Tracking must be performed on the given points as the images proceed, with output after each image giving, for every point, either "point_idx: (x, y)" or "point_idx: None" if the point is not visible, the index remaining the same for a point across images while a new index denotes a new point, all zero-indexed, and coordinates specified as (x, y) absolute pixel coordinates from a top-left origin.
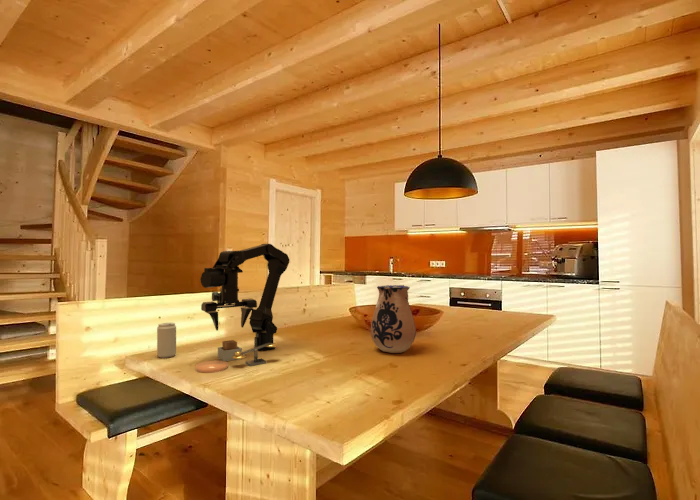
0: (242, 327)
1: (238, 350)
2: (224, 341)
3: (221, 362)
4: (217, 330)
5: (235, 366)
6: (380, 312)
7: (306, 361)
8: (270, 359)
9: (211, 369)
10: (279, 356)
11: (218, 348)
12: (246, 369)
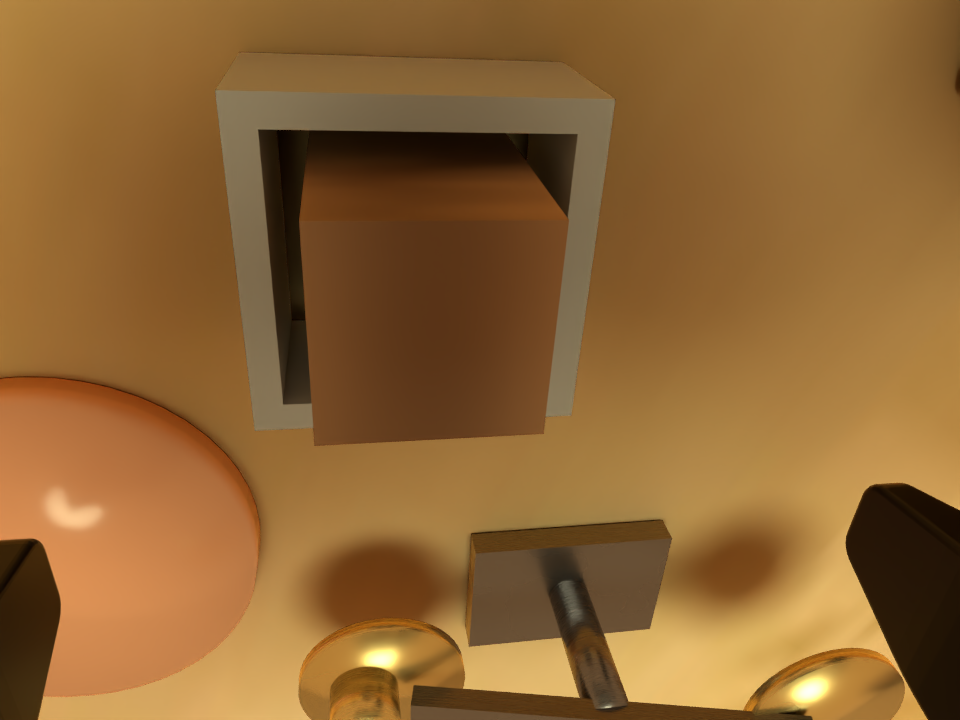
0: (854, 538)
1: None
2: (338, 266)
3: (187, 540)
4: (44, 601)
5: (338, 578)
6: None
7: None
8: (758, 515)
9: None
10: (901, 460)
11: (222, 147)
12: None
